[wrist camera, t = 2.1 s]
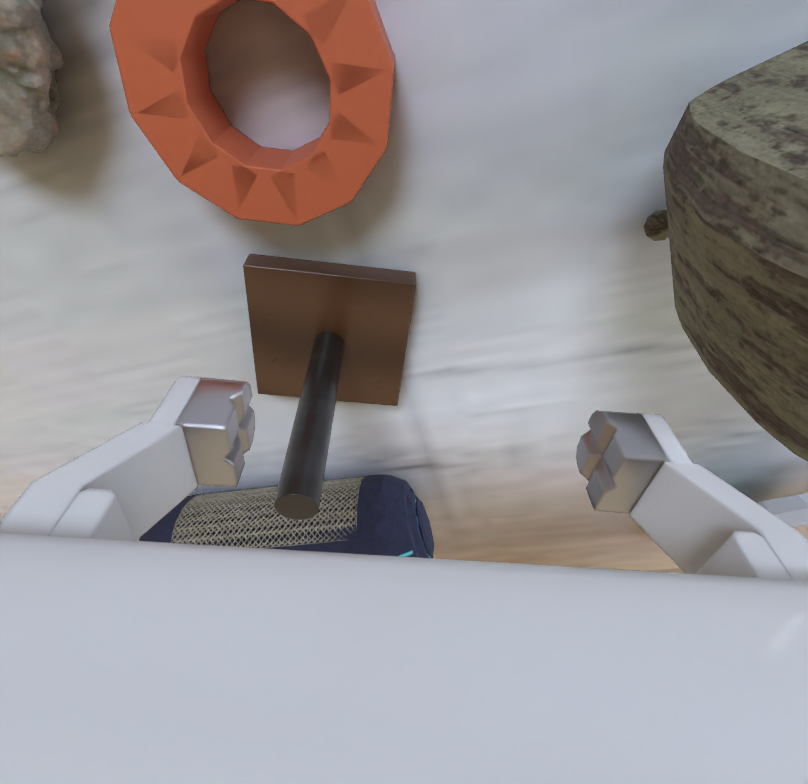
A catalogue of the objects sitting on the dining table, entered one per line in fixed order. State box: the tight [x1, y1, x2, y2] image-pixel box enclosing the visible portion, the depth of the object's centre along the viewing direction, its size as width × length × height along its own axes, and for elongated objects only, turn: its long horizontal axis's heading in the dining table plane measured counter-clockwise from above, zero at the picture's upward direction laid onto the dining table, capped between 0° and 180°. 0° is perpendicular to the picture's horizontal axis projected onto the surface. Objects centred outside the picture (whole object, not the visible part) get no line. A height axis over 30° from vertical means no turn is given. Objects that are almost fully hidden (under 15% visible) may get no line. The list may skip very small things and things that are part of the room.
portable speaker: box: [139, 475, 434, 558], centre depth 40 cm, size 25×10×10 cm, turn 100°
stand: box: [243, 254, 416, 520], centre depth 26 cm, size 10×10×14 cm
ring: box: [110, 0, 395, 225], centre depth 21 cm, size 11×11×3 cm
